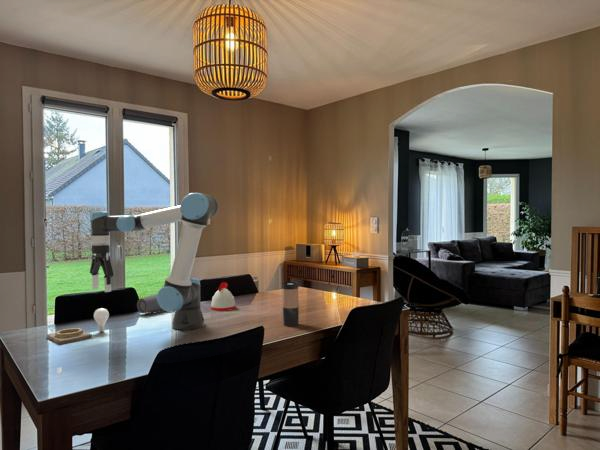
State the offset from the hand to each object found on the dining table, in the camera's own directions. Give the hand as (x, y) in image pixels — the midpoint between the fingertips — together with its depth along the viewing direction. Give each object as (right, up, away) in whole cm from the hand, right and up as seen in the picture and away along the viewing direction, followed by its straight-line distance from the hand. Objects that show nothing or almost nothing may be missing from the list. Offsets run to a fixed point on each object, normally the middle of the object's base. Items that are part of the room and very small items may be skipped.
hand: (101, 290), depth 197 cm
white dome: (+48, -18, +47) cm, 70 cm away
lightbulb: (+1, -19, -2) cm, 19 cm away
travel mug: (+88, -18, +7) cm, 90 cm away
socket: (-9, -19, -11) cm, 24 cm away
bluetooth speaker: (+13, -19, +41) cm, 47 cm away
